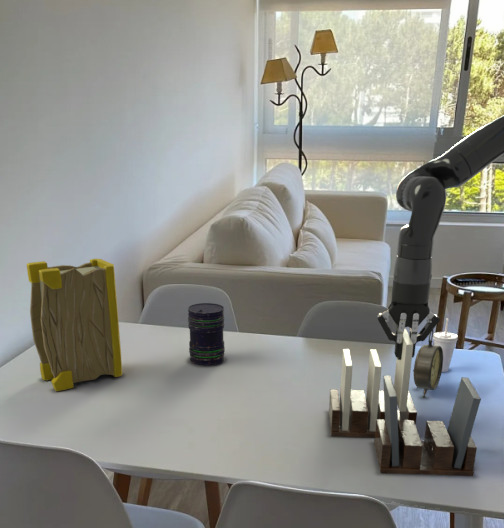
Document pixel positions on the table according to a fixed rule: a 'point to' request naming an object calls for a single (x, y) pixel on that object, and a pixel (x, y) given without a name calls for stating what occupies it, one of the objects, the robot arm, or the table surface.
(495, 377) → the table surface
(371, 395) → the ivory book
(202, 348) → the black barrel
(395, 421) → the grey book
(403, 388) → the ivory book
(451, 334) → the smoothie
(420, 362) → the alarm clock
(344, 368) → the ivory book
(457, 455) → the grey book
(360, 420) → the book stands
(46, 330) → the decorative book
